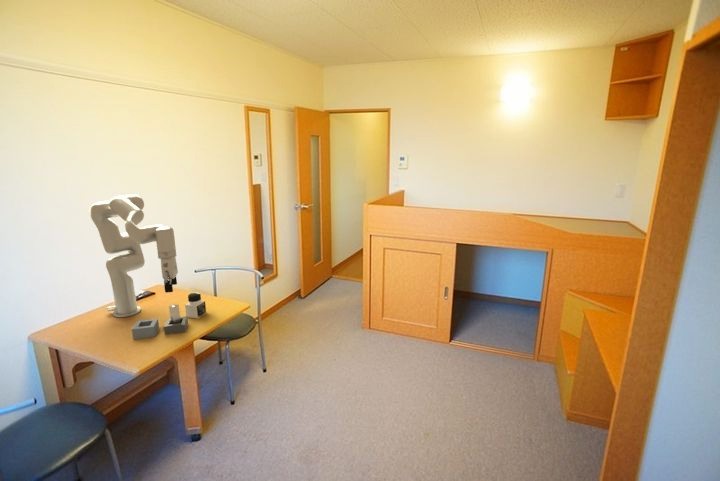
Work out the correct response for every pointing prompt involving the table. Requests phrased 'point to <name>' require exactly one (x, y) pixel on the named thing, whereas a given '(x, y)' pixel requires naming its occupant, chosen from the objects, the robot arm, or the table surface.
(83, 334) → the table surface
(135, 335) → the socket block
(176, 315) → the steel rod
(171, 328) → the grey square ring
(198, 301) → the medicine bottle
